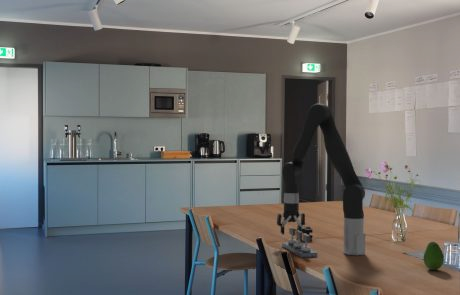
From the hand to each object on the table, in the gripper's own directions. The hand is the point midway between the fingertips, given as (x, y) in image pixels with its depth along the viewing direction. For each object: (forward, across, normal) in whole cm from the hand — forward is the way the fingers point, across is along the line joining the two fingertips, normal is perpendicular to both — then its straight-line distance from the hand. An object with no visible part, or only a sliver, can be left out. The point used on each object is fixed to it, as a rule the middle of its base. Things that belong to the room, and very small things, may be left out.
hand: (290, 233), depth 279 cm
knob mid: (+4, 0, -11) cm, 12 cm away
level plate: (+6, 0, -11) cm, 13 cm away
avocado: (+6, +42, -58) cm, 72 cm away
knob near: (+4, 0, -20) cm, 21 cm away
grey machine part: (+7, +14, +18) cm, 24 cm away
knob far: (+4, 0, -2) cm, 5 cm away
